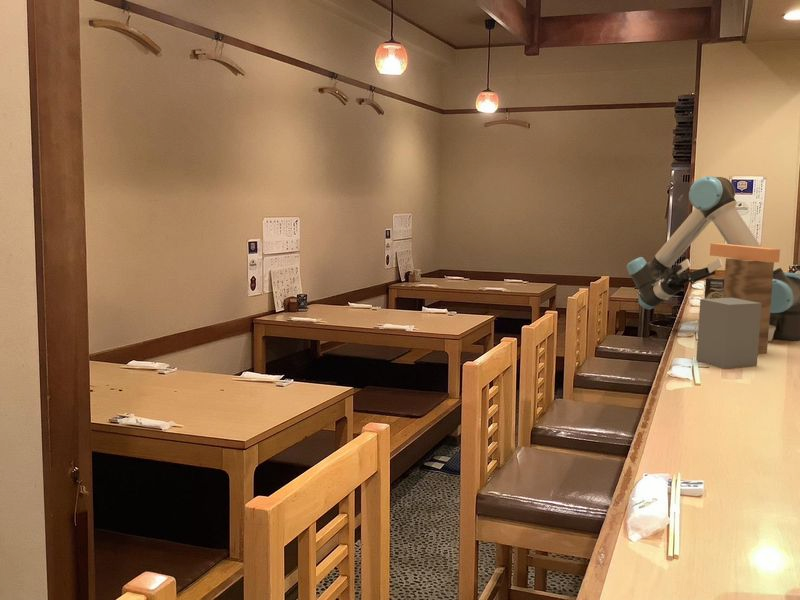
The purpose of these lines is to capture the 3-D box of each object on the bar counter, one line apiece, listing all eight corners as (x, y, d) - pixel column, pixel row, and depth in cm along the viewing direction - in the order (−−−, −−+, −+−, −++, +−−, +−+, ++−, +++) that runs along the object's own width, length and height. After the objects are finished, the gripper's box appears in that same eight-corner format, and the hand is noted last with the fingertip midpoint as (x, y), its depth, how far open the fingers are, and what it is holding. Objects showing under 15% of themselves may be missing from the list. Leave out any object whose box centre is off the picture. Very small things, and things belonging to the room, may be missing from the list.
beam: (779, 262, 239) (780, 249, 238) (768, 262, 237) (769, 249, 237) (719, 255, 263) (720, 243, 262) (709, 255, 262) (710, 243, 261)
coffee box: (702, 316, 320) (705, 278, 317) (704, 314, 325) (706, 276, 323) (726, 318, 315) (729, 279, 313) (727, 316, 321) (730, 278, 319)
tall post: (766, 353, 249) (774, 260, 244) (741, 355, 245) (748, 261, 241) (743, 347, 258) (750, 257, 254) (719, 348, 255) (725, 258, 250)
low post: (756, 366, 230) (761, 303, 227) (724, 368, 226) (728, 304, 223) (727, 357, 241) (732, 297, 239) (696, 360, 237) (700, 299, 235)
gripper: (699, 294, 288) (737, 271, 269) (642, 296, 280) (677, 273, 261) (693, 276, 291) (730, 251, 272) (637, 277, 283) (671, 253, 264)
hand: (704, 262), depth 267 cm, fingers open, 13 cm apart
